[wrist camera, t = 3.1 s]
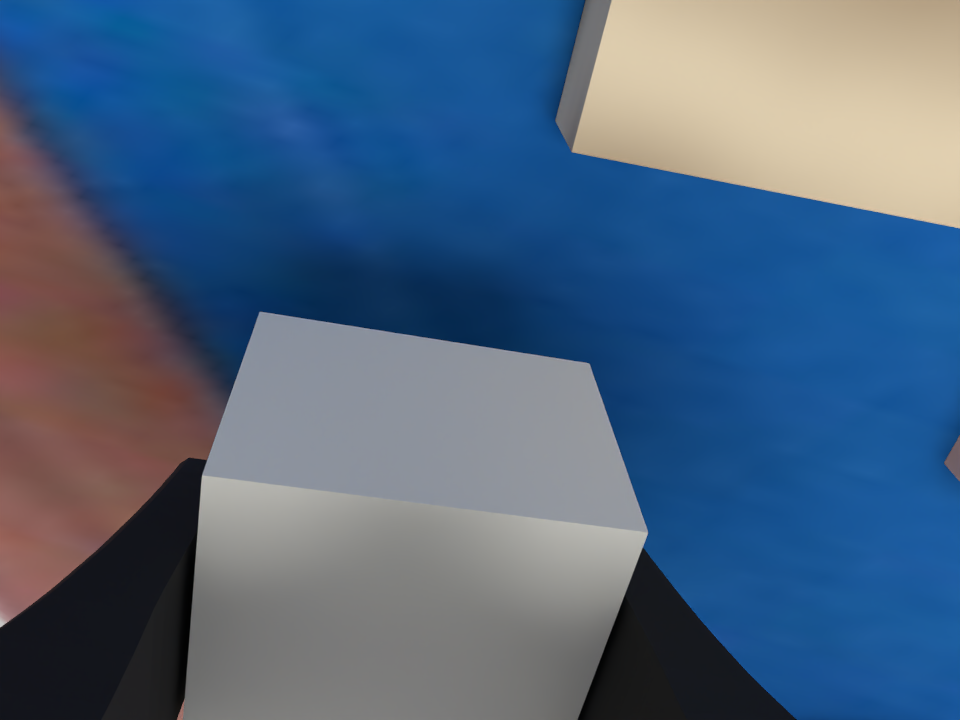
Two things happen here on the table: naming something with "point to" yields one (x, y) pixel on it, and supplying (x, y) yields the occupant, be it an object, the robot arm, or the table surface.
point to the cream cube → (406, 532)
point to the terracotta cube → (954, 459)
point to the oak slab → (777, 96)
